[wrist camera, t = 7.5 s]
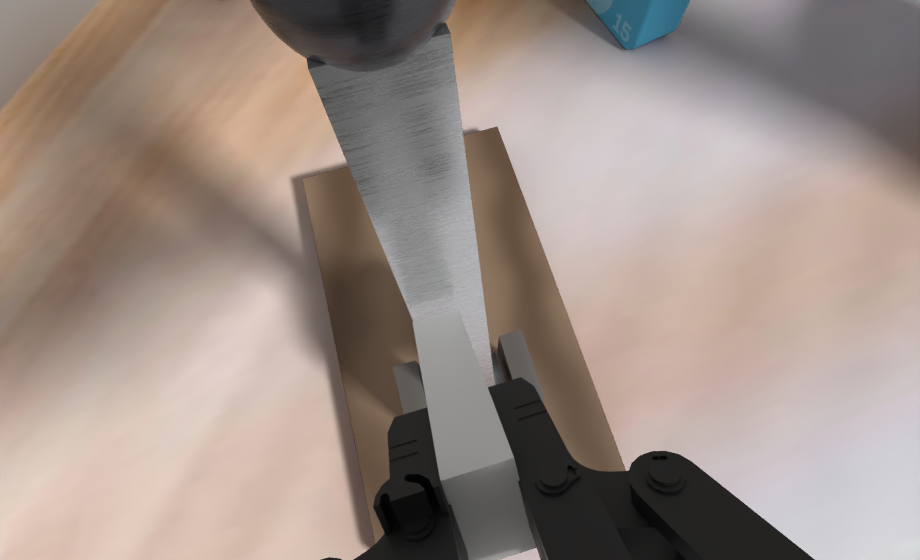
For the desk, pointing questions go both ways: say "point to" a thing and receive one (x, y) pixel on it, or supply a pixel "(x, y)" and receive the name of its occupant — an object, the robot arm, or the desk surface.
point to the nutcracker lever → (399, 141)
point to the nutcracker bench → (506, 304)
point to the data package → (639, 18)
